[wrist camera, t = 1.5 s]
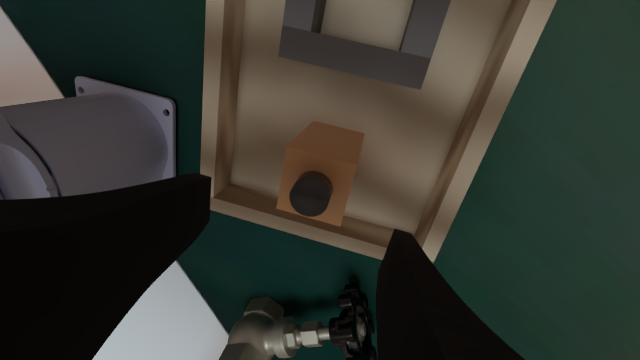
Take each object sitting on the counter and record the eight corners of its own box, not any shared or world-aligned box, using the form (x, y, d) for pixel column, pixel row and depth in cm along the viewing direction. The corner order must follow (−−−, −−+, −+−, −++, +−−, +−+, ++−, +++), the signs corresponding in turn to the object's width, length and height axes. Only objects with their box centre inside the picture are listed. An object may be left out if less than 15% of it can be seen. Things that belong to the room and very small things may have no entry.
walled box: (421, 242, 22) (428, 273, 19) (223, 186, 24) (199, 206, 20) (569, -100, 14) (625, -145, 11) (248, -153, 15) (213, -207, 12)
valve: (262, 337, 30) (377, 324, 26) (232, 407, 24) (376, 403, 20) (234, 286, 28) (354, 265, 24) (193, 349, 22) (345, 334, 18)
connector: (351, 180, 20) (336, 240, 14) (304, 167, 21) (267, 220, 14) (364, 133, 19) (355, 175, 12) (313, 120, 19) (277, 154, 13)
